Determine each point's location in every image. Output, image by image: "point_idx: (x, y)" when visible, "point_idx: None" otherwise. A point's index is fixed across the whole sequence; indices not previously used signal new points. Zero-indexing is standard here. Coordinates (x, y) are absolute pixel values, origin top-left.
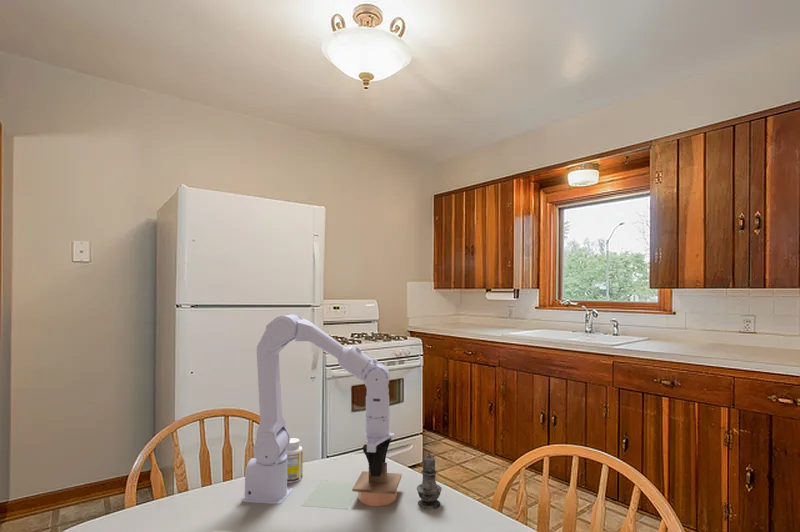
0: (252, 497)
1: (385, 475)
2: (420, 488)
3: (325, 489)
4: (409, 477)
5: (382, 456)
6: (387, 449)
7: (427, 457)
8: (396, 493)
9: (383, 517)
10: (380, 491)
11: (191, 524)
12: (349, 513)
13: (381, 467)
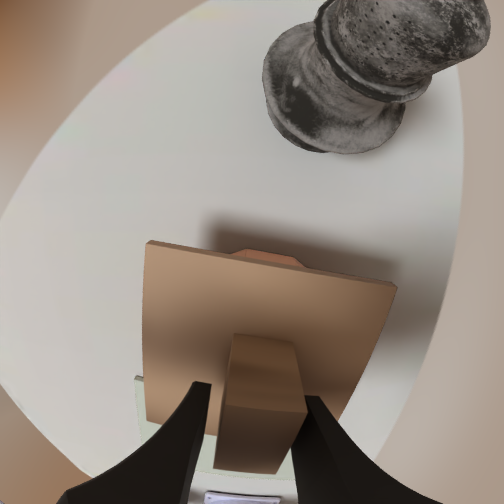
0: None
1: (285, 365)
2: (362, 132)
3: (201, 457)
4: (54, 189)
5: (407, 490)
6: (136, 460)
7: (484, 9)
8: (257, 257)
9: (404, 299)
10: (370, 353)
11: None
12: (352, 397)
13: (343, 430)
